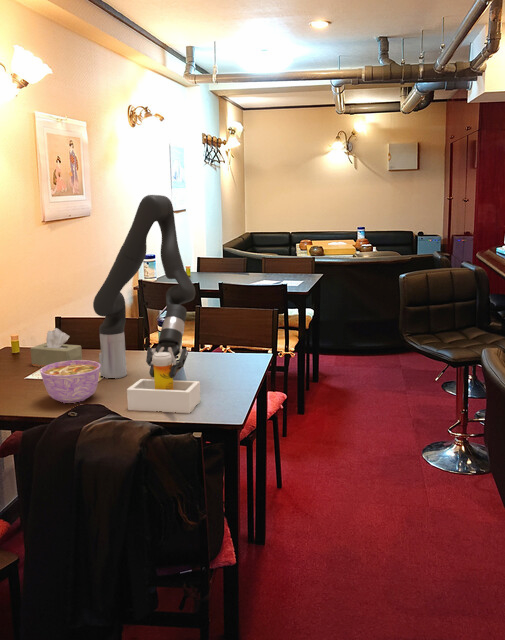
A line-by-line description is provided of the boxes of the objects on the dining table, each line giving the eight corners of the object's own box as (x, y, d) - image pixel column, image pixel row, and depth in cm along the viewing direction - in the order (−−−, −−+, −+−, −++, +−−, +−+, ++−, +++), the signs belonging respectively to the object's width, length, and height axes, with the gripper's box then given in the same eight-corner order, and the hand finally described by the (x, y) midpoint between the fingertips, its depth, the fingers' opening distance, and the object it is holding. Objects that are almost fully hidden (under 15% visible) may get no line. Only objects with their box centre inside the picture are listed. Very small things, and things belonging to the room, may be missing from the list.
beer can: (170, 401, 208) (168, 356, 205) (152, 400, 209) (150, 356, 206) (176, 395, 213) (174, 351, 210) (159, 394, 215) (156, 351, 212)
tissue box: (83, 364, 266) (80, 327, 263) (68, 370, 257) (65, 332, 254) (46, 360, 273) (43, 324, 270) (31, 366, 264) (27, 329, 261)
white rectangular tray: (128, 410, 208) (126, 389, 207) (141, 398, 219) (140, 378, 218) (189, 413, 204) (188, 392, 202) (200, 401, 215) (199, 381, 214)
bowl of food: (100, 388, 232) (97, 357, 230) (106, 405, 213) (103, 371, 211) (42, 395, 226) (39, 363, 223) (43, 412, 207) (40, 378, 205)
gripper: (148, 326, 215) (137, 370, 206) (189, 327, 212) (179, 372, 203) (155, 338, 221) (144, 381, 212) (194, 339, 219) (185, 383, 210)
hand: (161, 376), depth 208 cm, fingers closed on beer can, 6 cm apart
